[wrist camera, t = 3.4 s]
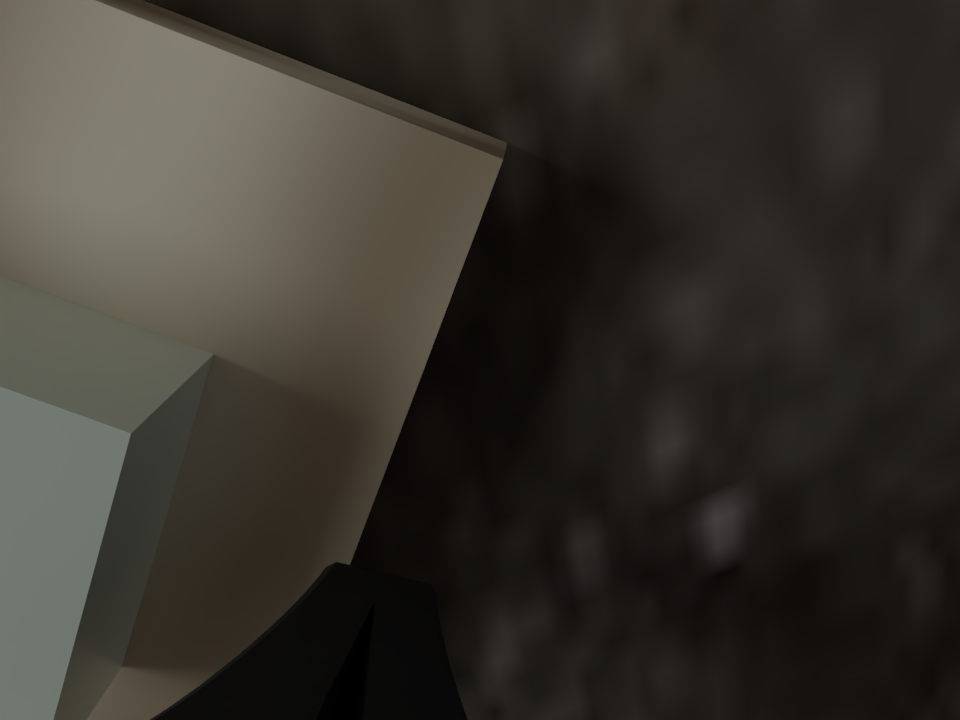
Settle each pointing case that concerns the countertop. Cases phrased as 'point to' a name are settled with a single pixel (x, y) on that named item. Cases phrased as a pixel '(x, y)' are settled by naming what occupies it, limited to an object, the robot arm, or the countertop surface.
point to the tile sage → (81, 491)
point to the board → (236, 287)
